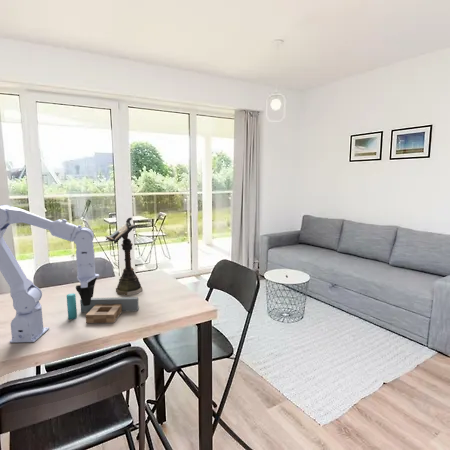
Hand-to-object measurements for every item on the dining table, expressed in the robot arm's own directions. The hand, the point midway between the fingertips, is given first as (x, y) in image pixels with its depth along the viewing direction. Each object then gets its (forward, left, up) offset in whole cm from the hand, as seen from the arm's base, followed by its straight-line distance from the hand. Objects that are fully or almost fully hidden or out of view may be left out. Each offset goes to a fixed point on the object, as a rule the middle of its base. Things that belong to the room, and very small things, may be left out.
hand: (88, 301), depth 111 cm
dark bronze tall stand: (+35, -3, -10) cm, 36 cm away
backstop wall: (+16, -3, -9) cm, 18 cm away
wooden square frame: (+8, -3, -10) cm, 13 cm away
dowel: (+8, +9, -10) cm, 16 cm away
